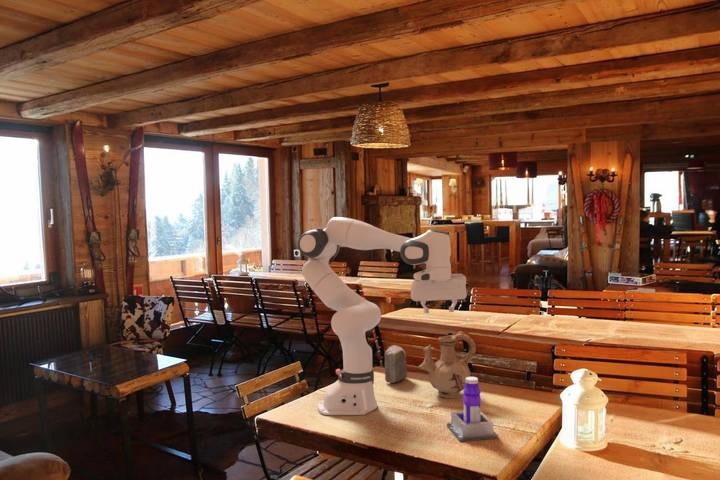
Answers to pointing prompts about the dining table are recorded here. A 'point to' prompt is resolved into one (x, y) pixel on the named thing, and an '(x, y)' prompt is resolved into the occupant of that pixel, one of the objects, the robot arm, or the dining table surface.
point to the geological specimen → (395, 364)
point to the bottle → (472, 401)
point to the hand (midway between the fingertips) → (439, 312)
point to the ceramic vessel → (448, 366)
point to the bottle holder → (471, 428)
